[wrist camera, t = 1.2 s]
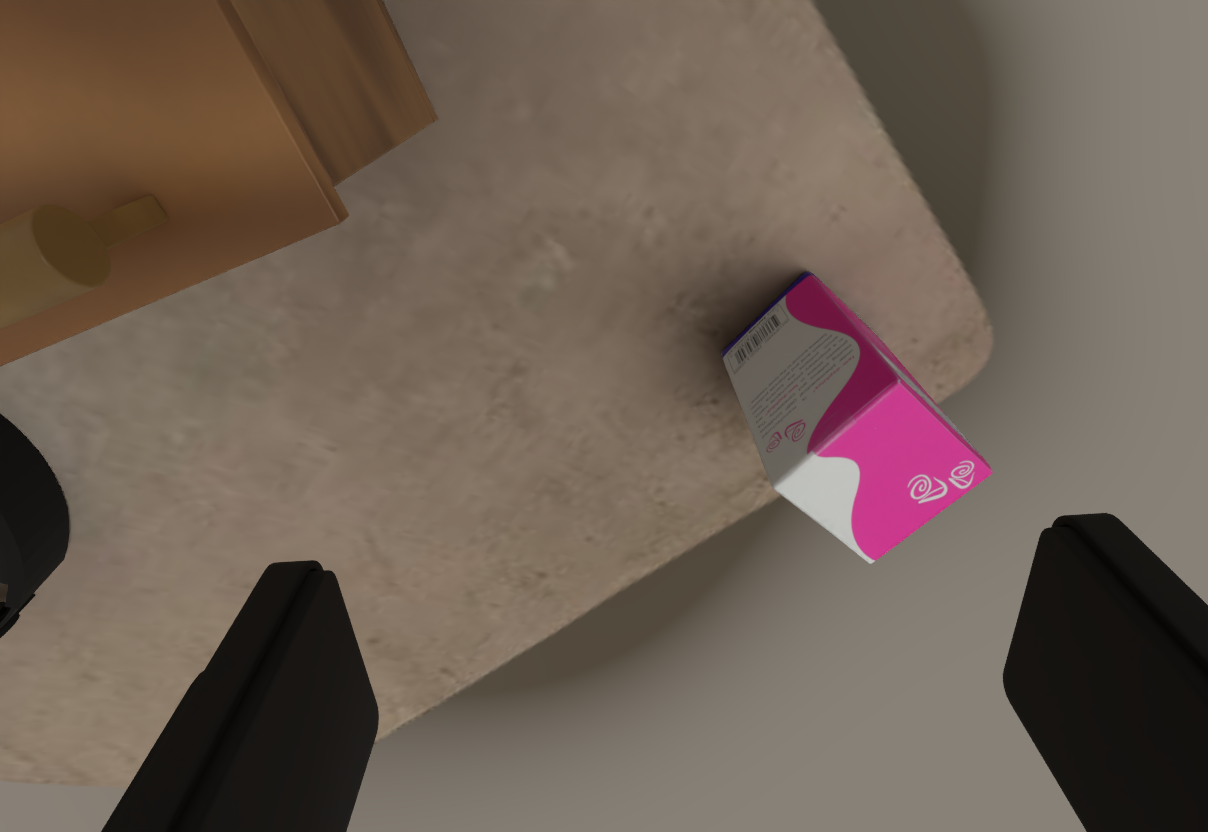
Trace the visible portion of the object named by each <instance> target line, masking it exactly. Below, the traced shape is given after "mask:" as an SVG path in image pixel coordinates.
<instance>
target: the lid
mask: <svg viewBox="0 0 1208 832" xmlns="http://www.w3.org/2000/svg"><path fill="white" fill-rule="evenodd" d="M348 216H349V214H348V212H347V210H346V208H345V207H344V205H343V203H342V201H341V199H340V198H339V196H338V194H337V192H336V190H335V189H334V187H333V185H332V183H331V181H330V180H329V178H328V176H327V174H326V172H325V171H324V169H323V167H322V165H321V163H320V162H319V160H318V158H317V156H316V154H315V153H314V151H313V149H312V147H311V145H310V144H309V142H308V140H307V138H306V136H305V135H304V133H303V131H302V129H301V127H300V126H299V124H298V122H297V120H296V118H295V117H294V115H293V113H292V111H291V109H290V108H289V106H288V104H287V102H286V100H285V99H284V97H283V95H282V93H281V91H280V90H279V88H278V86H277V84H276V82H275V81H274V79H273V77H272V75H271V73H270V72H269V70H268V68H267V66H266V64H265V63H264V61H263V59H262V57H261V55H260V54H259V52H258V50H257V48H256V46H255V45H254V43H253V41H252V39H251V37H250V36H249V34H248V32H247V30H246V28H245V27H244V25H243V23H242V21H241V19H240V18H239V16H238V14H237V12H236V10H235V9H234V7H233V5H232V3H231V1H230V0H0V366H2V365H5V364H7V363H9V362H12V361H14V360H17V359H19V358H21V357H24V356H26V355H29V354H31V353H33V352H36V351H38V350H40V349H43V348H45V347H48V346H50V345H52V344H55V343H57V342H59V341H62V340H64V339H67V338H69V337H71V336H74V335H76V334H78V333H81V332H83V331H86V330H88V329H90V328H93V327H95V326H97V325H100V324H102V323H105V322H107V321H109V320H112V319H114V318H117V317H119V316H121V315H124V314H126V313H128V312H131V311H133V310H136V309H138V308H140V307H143V306H145V305H147V304H150V303H152V302H155V301H157V300H159V299H162V298H164V297H166V296H169V295H171V294H174V293H176V292H178V291H181V290H183V289H185V288H188V287H190V286H193V285H195V284H197V283H200V282H202V281H205V280H207V279H209V278H212V277H214V276H216V275H219V274H221V273H224V272H226V271H228V270H231V269H233V268H235V267H238V266H240V265H243V264H245V263H247V262H250V261H252V260H254V259H257V258H259V257H262V256H264V255H266V254H269V253H271V252H273V251H276V250H278V249H281V248H283V247H285V246H288V245H290V244H293V243H295V242H297V241H300V240H302V239H304V238H307V237H309V236H312V235H314V234H316V233H319V232H321V231H323V230H326V229H328V228H331V227H333V226H335V225H338V224H340V223H341V222H342V221H344V220H345V219H346V218H347V217H348Z"/></svg>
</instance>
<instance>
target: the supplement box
mask: <svg viewBox="0 0 1208 832" xmlns="http://www.w3.org/2000/svg"><path fill="white" fill-rule="evenodd" d="M721 356H722V358H723V361H724V364H725V367H726V369H727V372H728V374H729V377H730V380H731V382H732V385H733V388H734V390H735V393H736V395H737V398H738V400H739V403H740V406H741V408H742V411H743V413H744V415H745V418H746V421H747V423H748V426H749V429H750V431H751V434H752V436H753V439H754V442H755V444H756V447H757V450H758V452H759V455H760V457H761V460H762V462H763V465H764V468H765V471H766V473H767V476H768V478H769V481H770V484H771V486H772V488H773V489H774V490H775V491H777V492H778V493H779V494H781V495H782V496H783V497H785V498H786V499H787V500H788V501H790V502H791V503H792V504H794V505H795V506H796V507H798V508H799V509H800V510H801V511H803V512H804V513H806V514H807V515H808V516H809V517H811V518H812V519H813V520H815V521H816V522H817V523H818V524H820V525H821V526H822V527H824V528H825V529H826V530H828V531H829V532H830V533H832V534H833V535H834V536H836V537H837V538H838V539H840V540H841V541H842V542H843V543H844V544H846V545H847V546H848V547H849V548H851V549H852V550H853V551H854V552H856V553H857V554H858V555H859V556H861V557H862V558H863V559H865V560H866V561H867V562H868V563H870V564H872V563H873V562H875V561H876V560H877V559H878V558H880V557H881V556H882V555H884V554H885V553H887V551H889V550H890V549H892V548H893V547H894V546H896V545H897V544H899V543H900V542H901V541H903V540H904V539H905V538H906V537H908V536H909V535H910V534H911V533H913V532H914V531H916V530H917V529H918V528H920V527H921V526H922V525H924V524H925V523H926V522H928V521H929V520H930V519H932V518H933V517H934V516H936V515H937V514H938V513H940V512H941V511H942V510H944V509H945V508H946V507H948V506H949V505H950V504H952V503H953V502H954V501H956V500H957V499H959V498H960V497H961V496H962V495H964V494H965V493H967V492H968V491H969V490H971V489H972V488H973V487H975V486H976V485H977V484H979V483H980V482H981V481H983V480H984V479H985V478H987V477H988V476H989V475H991V474H992V473H993V471H992V469H991V468H990V466H989V465H988V463H987V462H986V461H985V460H984V458H983V457H982V456H981V455H980V454H979V452H978V451H977V450H976V449H975V448H974V447H973V446H972V444H971V443H970V442H969V441H968V440H967V438H966V437H965V436H964V435H963V434H962V433H961V432H960V431H959V430H958V429H957V428H956V426H955V425H954V424H953V422H952V421H951V420H950V419H949V418H948V417H947V416H946V414H945V413H944V412H943V411H942V410H941V409H940V408H939V406H938V405H937V404H936V403H935V402H934V401H933V400H932V398H931V397H930V396H929V395H928V394H927V393H926V392H925V390H924V389H923V388H922V387H921V386H920V385H919V383H918V382H917V381H916V380H915V379H914V378H913V376H912V375H911V374H910V373H909V372H908V371H907V370H906V368H905V367H904V366H903V365H902V364H901V363H900V361H899V360H898V359H897V358H896V357H895V356H894V354H893V353H892V352H891V351H890V350H889V349H888V347H887V346H886V345H885V344H884V343H883V342H882V341H881V340H880V339H879V338H878V337H877V336H876V335H875V334H874V333H873V332H872V331H871V330H870V329H869V328H868V327H867V326H866V325H865V324H864V323H863V322H862V321H861V320H860V319H859V318H858V317H857V316H856V315H855V314H854V313H853V312H852V311H851V310H850V309H849V308H848V307H847V306H846V305H845V304H844V303H843V302H842V301H841V300H840V299H839V298H838V297H837V296H836V295H835V294H834V293H833V292H832V291H831V290H829V289H828V288H827V287H826V286H825V285H824V284H823V283H822V282H821V281H820V280H819V279H818V278H817V277H816V276H815V275H814V274H812V273H810V272H808V271H807V272H805V273H804V274H802V275H801V276H800V277H799V278H798V279H797V280H796V281H795V282H794V283H793V284H792V285H791V286H790V287H789V288H788V289H786V290H785V291H784V292H783V293H782V294H781V295H780V296H779V297H778V298H777V299H776V300H775V301H774V302H773V303H772V304H771V305H770V306H769V307H768V308H767V309H765V310H764V311H763V312H762V313H761V314H760V315H759V316H758V317H757V318H756V319H755V320H754V321H753V322H752V323H751V324H750V325H749V326H748V327H747V328H746V329H745V330H744V331H743V332H742V333H741V334H740V335H739V336H738V337H736V338H735V339H734V341H733V342H731V343H730V344H729V345H728V346H727V347H726V348H725V349H724V350H723V351H722V352H721Z"/></svg>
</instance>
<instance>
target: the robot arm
mask: <svg viewBox="0 0 1208 832" xmlns="http://www.w3.org/2000/svg"><path fill="white" fill-rule="evenodd" d="M1003 683H1004V688H1005V692H1006V695H1007V697H1008V699H1009V702H1010V704H1011V705H1012V707H1013V709H1014V710H1015V712H1016V713H1017V715H1018V717H1019V718H1020V720H1021V722H1022V724H1023V725H1024V727H1025V729H1026V730H1027V732H1028V733H1029V735H1030V737H1031V739H1032V741H1033V742H1034V744H1035V746H1036V747H1037V749H1038V751H1039V752H1040V754H1041V755H1042V757H1043V759H1044V761H1045V762H1046V764H1047V766H1048V767H1049V769H1050V771H1051V772H1052V774H1053V776H1054V777H1055V779H1056V781H1057V782H1058V784H1059V786H1060V788H1061V789H1062V791H1063V792H1064V794H1065V796H1066V798H1067V799H1068V801H1069V802H1070V804H1071V806H1072V807H1073V809H1074V811H1075V813H1076V814H1077V816H1078V818H1079V819H1080V821H1081V823H1082V824H1083V826H1084V828H1085V829H1086V831H1087V832H1208V605H1207V604H1206V603H1205V602H1204V601H1203V600H1202V599H1201V598H1200V597H1199V596H1198V595H1196V593H1195V592H1194V591H1192V590H1191V589H1190V588H1189V587H1188V586H1187V585H1186V584H1185V583H1184V582H1183V581H1182V580H1181V579H1180V578H1179V577H1178V576H1177V575H1176V574H1175V573H1174V572H1173V571H1172V570H1171V569H1170V568H1169V567H1168V566H1167V565H1166V564H1165V563H1164V562H1163V561H1161V560H1160V558H1159V557H1157V556H1156V555H1155V554H1154V553H1153V552H1152V551H1151V550H1150V549H1149V548H1148V547H1147V546H1146V545H1145V544H1144V543H1143V542H1142V541H1141V540H1140V539H1139V538H1138V537H1137V536H1136V535H1135V534H1134V533H1133V532H1132V531H1131V530H1129V529H1128V527H1126V526H1125V525H1124V524H1123V523H1122V522H1121V521H1120V520H1119V519H1118V518H1116V517H1115V516H1114V515H1111V514H1107V513H1099V514H1082V515H1067V516H1066V515H1065V516H1061V517H1058V518H1057V519H1056V520H1055V521H1054V523H1053V525H1052V527H1051V528H1046V529H1044V530H1043V531H1042V533H1041V535H1040V538H1039V542H1038V545H1037V549H1036V552H1035V557H1034V560H1033V563H1032V567H1031V571H1030V575H1029V578H1028V582H1027V586H1026V589H1025V593H1024V597H1023V601H1022V604H1021V608H1020V612H1019V616H1018V619H1017V623H1016V627H1015V630H1014V634H1013V638H1012V641H1011V645H1010V649H1009V653H1008V656H1007V660H1006V664H1005V668H1004V672H1003ZM378 720H379V714H378V706H377V702H376V699H375V696H374V693H373V690H372V687H371V684H370V681H369V678H368V674H367V671H366V668H365V665H364V662H363V659H362V656H361V653H360V650H359V646H358V643H357V640H356V637H355V634H354V631H353V628H352V625H351V622H350V618H349V615H348V612H347V609H346V606H345V603H344V600H343V597H342V594H341V590H340V587H339V584H338V581H337V578H336V576H335V574H334V573H333V572H332V571H329V570H327V571H324V570H323V568H322V566H321V564H320V563H319V562H318V561H314V560H311V561H295V562H278V563H272V564H270V565H269V566H268V567H267V568H266V570H265V571H264V573H263V574H262V576H261V578H260V579H259V581H258V583H257V584H256V586H255V587H254V589H253V591H252V592H251V594H250V596H249V597H248V599H247V601H246V602H245V604H244V606H243V607H242V609H241V611H240V612H239V614H238V616H237V617H236V619H235V621H234V622H233V624H232V626H231V627H230V629H229V630H228V632H227V634H226V635H225V637H224V639H223V640H222V642H221V644H220V645H219V647H218V649H217V650H216V652H215V654H214V655H213V657H212V659H211V660H210V662H209V664H208V665H207V667H206V669H205V670H204V671H203V672H201V673H200V674H199V675H198V676H197V678H196V679H195V680H194V682H193V683H192V684H191V686H190V687H189V689H188V690H187V692H186V694H185V695H184V697H183V699H182V700H181V702H180V704H179V705H178V707H177V708H176V710H175V712H174V713H173V715H172V717H171V718H170V720H169V722H168V723H167V725H166V726H165V728H164V730H163V731H162V733H161V735H160V736H159V738H158V740H157V741H156V743H155V744H154V746H153V748H152V749H151V751H150V753H149V754H148V756H147V758H146V759H145V761H144V762H143V764H142V766H141V767H140V769H139V771H138V772H137V774H136V775H135V777H134V779H133V780H132V782H131V784H130V785H129V787H128V789H127V790H126V792H125V793H124V795H123V797H122V799H121V800H120V802H119V803H118V805H117V807H116V808H115V810H114V811H113V813H112V815H111V816H110V818H109V820H108V821H107V823H106V825H105V826H104V828H103V829H102V831H101V832H346V831H347V827H348V824H349V821H350V818H351V814H352V811H353V808H354V805H355V802H356V799H357V795H358V792H359V789H360V786H361V782H362V779H363V776H364V773H365V770H366V766H367V763H368V760H369V757H370V754H371V750H372V747H373V744H374V741H375V738H376V734H377V730H378Z"/></svg>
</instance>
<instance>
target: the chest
mask: <svg viewBox="0 0 1208 832" xmlns="http://www.w3.org/2000/svg"><path fill="white" fill-rule="evenodd" d="M230 1H231V3H232V5H233V7H234V9H235V10H236V12H237V14H238V16H239V18H240V19H241V21H242V23H243V25H244V27H245V28H246V30H247V32H248V34H249V36H250V37H251V39H252V41H253V43H254V45H255V46H256V48H257V50H258V52H259V54H260V55H261V57H262V59H263V61H264V63H265V64H266V66H267V68H268V70H269V72H270V73H271V75H272V77H273V79H274V81H275V82H276V84H277V86H278V88H279V90H280V91H281V93H282V95H283V97H284V99H285V100H286V102H287V104H288V106H289V108H290V109H291V111H292V113H293V115H294V117H295V118H296V120H297V122H298V124H299V126H300V127H301V129H302V131H303V133H304V135H305V136H306V138H307V140H308V142H309V144H310V145H311V147H312V149H313V151H314V153H315V154H316V156H317V158H318V160H319V162H320V163H321V165H322V167H323V169H324V171H325V172H326V174H327V176H328V178H329V180H330V181H331V183H332V185H333V187H334V186H335V185H337V184H339V183H340V182H342V181H343V180H345V179H346V178H348V177H349V176H351V175H352V174H354V173H356V172H357V171H359V170H360V169H362V168H363V167H365V166H366V165H368V164H369V163H371V162H373V161H374V160H376V159H377V158H379V157H380V156H382V155H383V154H385V153H386V152H388V151H390V150H391V149H393V148H394V147H396V146H397V145H399V144H400V143H402V142H403V141H405V140H407V139H408V138H410V137H411V136H413V135H414V134H416V133H417V132H419V131H420V130H422V129H424V128H425V127H427V126H428V125H430V124H431V123H433V122H434V121H436V120H437V119H438V118H437V116H436V114H435V112H434V110H433V107H432V105H431V103H430V101H429V99H428V97H427V95H426V92H425V90H424V88H423V86H422V84H421V82H420V80H419V78H418V75H417V73H416V71H415V69H414V67H413V65H412V63H411V60H410V58H409V56H408V54H407V52H406V50H405V48H404V45H403V43H402V41H401V39H400V37H399V35H398V33H397V30H396V28H395V26H394V24H393V22H392V20H391V18H390V15H389V13H388V11H387V9H386V7H385V5H384V3H383V1H382V0H230Z"/></svg>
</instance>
